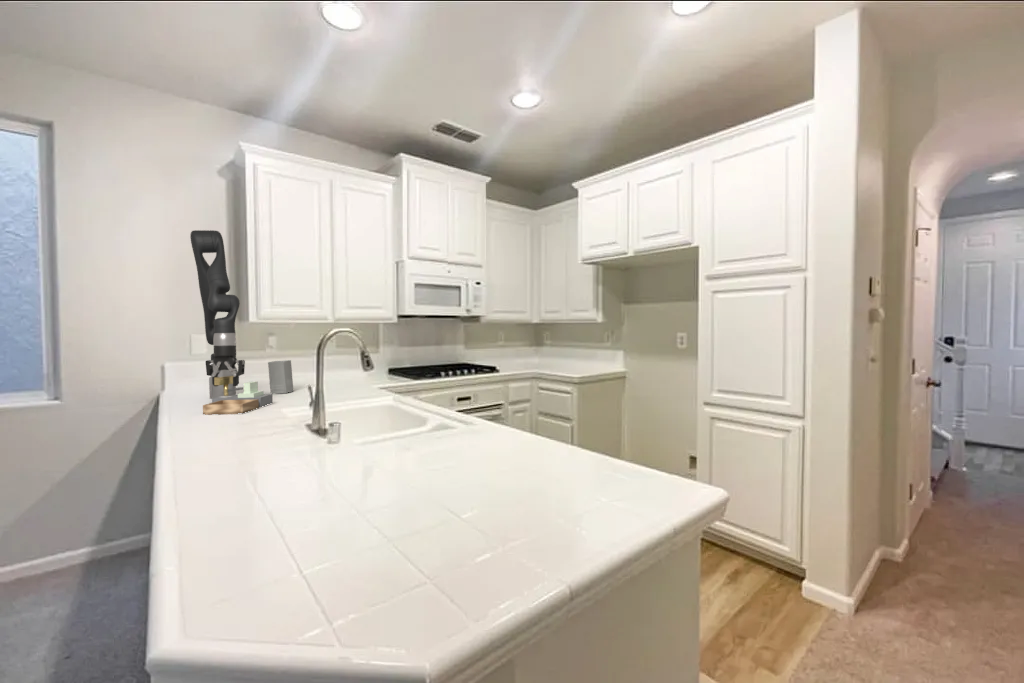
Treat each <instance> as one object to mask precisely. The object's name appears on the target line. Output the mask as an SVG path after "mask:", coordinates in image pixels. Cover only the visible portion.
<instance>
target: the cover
mask: <svg viewBox="0 0 1024 683" xmlns="http://www.w3.org/2000/svg"><path fill="white" fill-rule="evenodd" d="M258 387H259V386H258V381H248V382H244V383H243V392H240V393H237V395H238V398H248V397H257V396H260V395H264V394H265V393H264V392H265V391H264V390H259V388H258Z"/></svg>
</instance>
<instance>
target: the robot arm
mask: <svg viewBox="0 0 1024 683" xmlns="http://www.w3.org/2000/svg"><path fill="white" fill-rule="evenodd" d="M190 244H191V248H192V252H193V257H194V261H195V266H196V270H197V277H198V279H197V280H198V286H199V293H200V299H201V304H202V309H203V317H204V329H205V330H204V331H205V337H206V342H207V343H208V345H211V346H213V353H211V355H210V359H208V360H205V371H206V376H210V377H208V385H209V388H208V389H209V392H208V393H209V399H213V398H217V397H220V396H224V385H214V378H215V377H224V376H234V377H233V384H228V389H233V388H237V387H238V385H240V376H242V375H245V368H246V367H245V365H246V360H245V359H238V358H237V336H236V335H237V334H236V324H235V323H236V319H237V315H238V312H239V308H240V299H239V298H238V296H237V295H235V294H227V293H228V292H229V291H231V284H230V280H229V277H228V276H229V275H228V273H227V272H228V271H227V264H226V263H227V262H226V252H225V244H224V239H223V235H222V233H221V232H220V231H218V230H211V229H210V230H207V229H205V230H204V229H203V230H201V229H200V230H199V229H198V230H191V232H190ZM214 253H215V258H214V259H213V261H212V262H211V264H210V265H209V263H208V262H207V260H206V259H205V257H204V254H214ZM218 313H227V315H226V316H223V317H217V314H218ZM216 317H217V318H216ZM236 365H237V366H238V367H237V366H236ZM229 395H237V391H230V392H229Z"/></svg>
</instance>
